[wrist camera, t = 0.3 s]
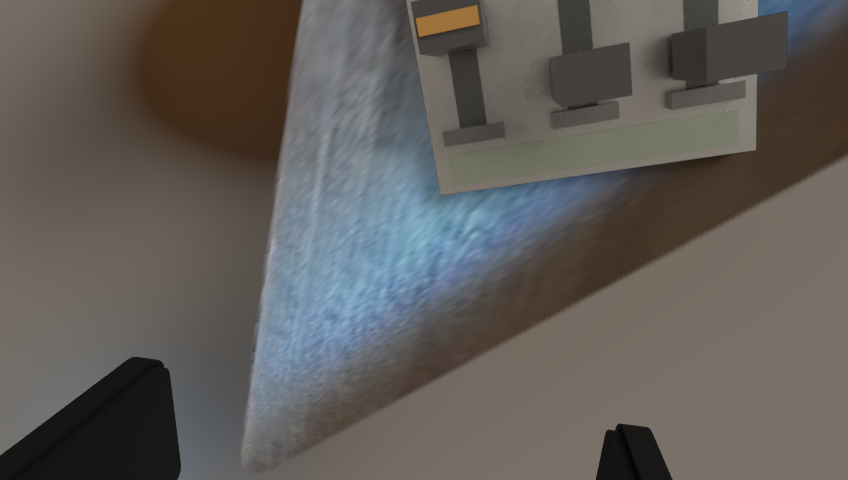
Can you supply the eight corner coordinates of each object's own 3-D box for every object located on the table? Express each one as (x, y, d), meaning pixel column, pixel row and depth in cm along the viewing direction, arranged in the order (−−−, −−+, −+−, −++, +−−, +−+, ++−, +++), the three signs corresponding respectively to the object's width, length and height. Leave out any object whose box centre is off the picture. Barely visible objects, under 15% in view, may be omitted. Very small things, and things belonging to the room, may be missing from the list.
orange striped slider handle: (483, 0, 30) (477, -15, 25) (489, 45, 31) (484, 40, 26) (427, 12, 31) (409, 1, 26) (434, 56, 32) (419, 54, 26)
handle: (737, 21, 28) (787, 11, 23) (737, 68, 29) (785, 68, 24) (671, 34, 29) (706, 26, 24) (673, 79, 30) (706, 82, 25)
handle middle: (609, 46, 30) (629, 41, 25) (612, 90, 31) (632, 95, 25) (549, 57, 31) (557, 55, 25) (553, 100, 31) (562, 107, 26)
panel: (744, -242, 27) (772, -278, 24) (741, 145, 33) (763, 152, 30) (387, -137, 31) (375, -157, 28) (444, 188, 37) (439, 198, 34)
